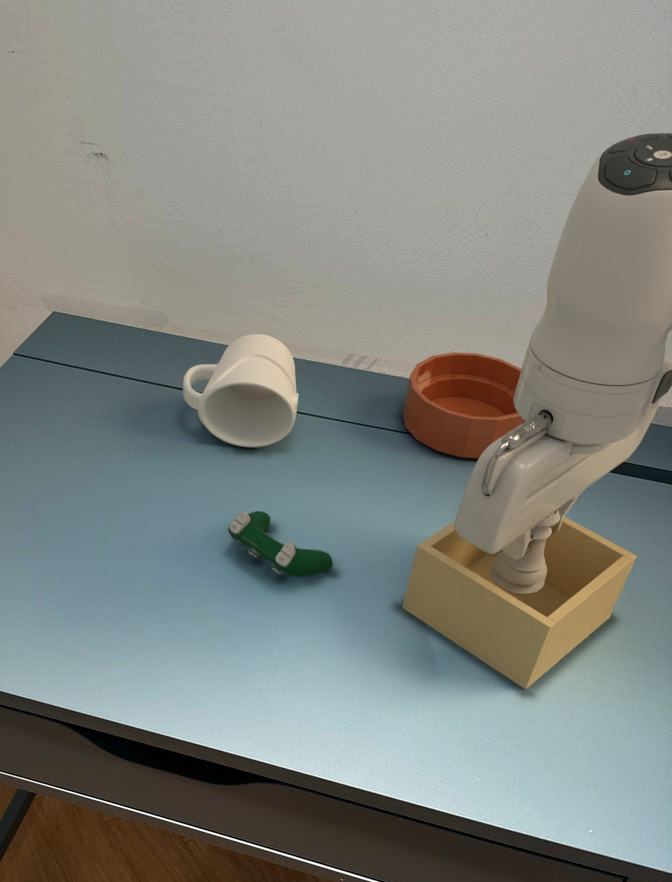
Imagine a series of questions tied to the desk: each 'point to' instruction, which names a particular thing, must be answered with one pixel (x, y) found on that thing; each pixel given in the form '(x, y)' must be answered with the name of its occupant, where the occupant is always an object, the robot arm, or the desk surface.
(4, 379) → the desk surface
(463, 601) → the bin
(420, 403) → the bowl
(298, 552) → the green two-tone curved device
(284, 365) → the mug
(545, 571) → the rook chess piece
